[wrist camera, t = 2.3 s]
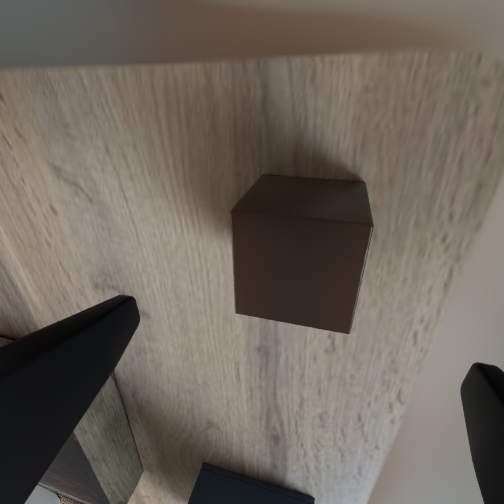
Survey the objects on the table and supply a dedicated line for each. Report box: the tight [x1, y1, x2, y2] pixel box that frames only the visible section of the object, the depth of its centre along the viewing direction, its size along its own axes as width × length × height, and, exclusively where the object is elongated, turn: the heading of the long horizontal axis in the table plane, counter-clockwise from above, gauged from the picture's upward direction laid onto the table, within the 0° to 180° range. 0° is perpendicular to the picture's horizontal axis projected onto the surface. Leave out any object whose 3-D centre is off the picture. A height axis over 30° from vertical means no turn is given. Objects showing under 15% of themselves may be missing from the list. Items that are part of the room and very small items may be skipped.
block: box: [231, 175, 374, 334], centre depth 12 cm, size 4×4×4 cm
